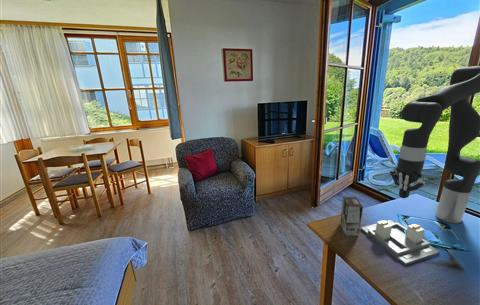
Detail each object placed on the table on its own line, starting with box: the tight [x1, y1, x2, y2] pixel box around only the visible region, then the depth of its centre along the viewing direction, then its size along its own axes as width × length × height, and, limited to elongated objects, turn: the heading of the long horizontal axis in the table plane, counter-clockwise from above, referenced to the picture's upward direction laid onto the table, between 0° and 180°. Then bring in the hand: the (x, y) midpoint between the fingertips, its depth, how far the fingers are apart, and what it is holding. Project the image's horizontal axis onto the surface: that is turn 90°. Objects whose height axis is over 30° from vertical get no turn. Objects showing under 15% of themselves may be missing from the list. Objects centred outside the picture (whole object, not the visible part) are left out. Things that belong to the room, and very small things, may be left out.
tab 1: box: [375, 219, 392, 240], centre depth 92 cm, size 4×4×8 cm
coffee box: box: [339, 196, 364, 237], centre depth 98 cm, size 9×6×16 cm
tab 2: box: [405, 223, 426, 244], centre depth 88 cm, size 4×4×8 cm
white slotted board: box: [360, 219, 441, 266], centre depth 91 cm, size 18×22×3 cm
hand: (403, 197), depth 80 cm, fingers closed
